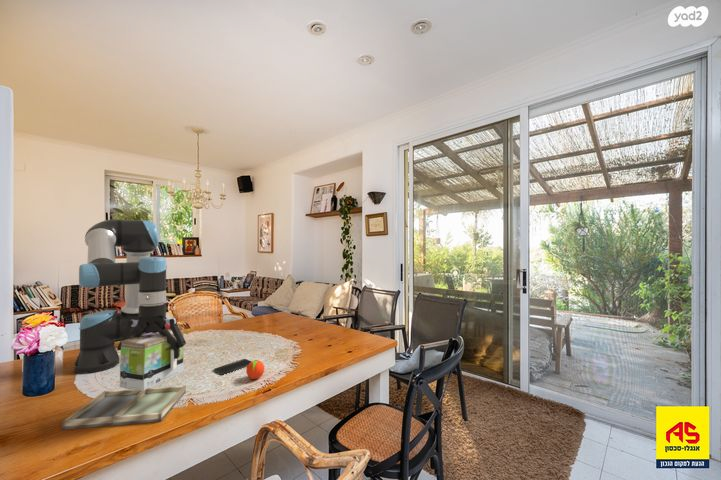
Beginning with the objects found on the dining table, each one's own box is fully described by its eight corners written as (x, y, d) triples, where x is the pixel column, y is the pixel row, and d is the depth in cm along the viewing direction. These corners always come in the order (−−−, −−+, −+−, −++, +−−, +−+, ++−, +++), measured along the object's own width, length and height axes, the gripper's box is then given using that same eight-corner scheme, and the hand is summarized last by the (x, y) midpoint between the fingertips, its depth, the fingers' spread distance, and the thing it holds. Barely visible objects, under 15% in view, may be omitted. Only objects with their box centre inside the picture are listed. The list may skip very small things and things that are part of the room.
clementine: (262, 382, 120) (262, 364, 120) (244, 384, 119) (244, 365, 119) (265, 374, 128) (265, 356, 128) (248, 375, 127) (248, 357, 127)
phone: (212, 369, 131) (244, 358, 143) (212, 371, 131) (244, 360, 143) (222, 373, 126) (254, 362, 138) (222, 376, 126) (254, 365, 138)
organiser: (61, 429, 90) (61, 421, 90) (104, 397, 108) (104, 391, 108) (161, 421, 94) (161, 413, 94) (185, 392, 113) (185, 385, 113)
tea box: (144, 392, 94) (144, 343, 94) (118, 388, 97) (119, 340, 97) (184, 372, 109) (184, 329, 109) (161, 369, 111) (161, 327, 111)
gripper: (103, 307, 97) (103, 376, 97) (188, 305, 101) (187, 371, 100) (118, 302, 104) (118, 367, 104) (196, 300, 108) (196, 362, 108)
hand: (152, 369), depth 102 cm, fingers closed on tea box, 12 cm apart
